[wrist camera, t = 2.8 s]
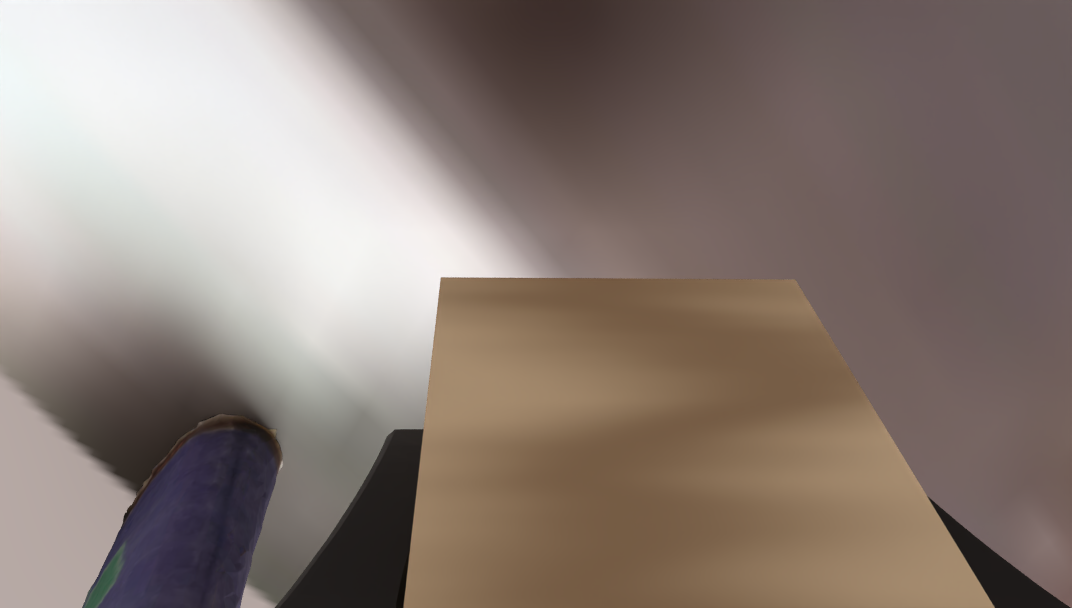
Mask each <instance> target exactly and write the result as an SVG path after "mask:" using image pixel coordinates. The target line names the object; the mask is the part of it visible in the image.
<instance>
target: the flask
mask: <svg viewBox="0 0 1072 608" xmlns="http://www.w3.org/2000/svg"><path fill="white" fill-rule="evenodd" d="M276 430H277V429H267V428H265V427H263V426H261V425H259V424H257V423H256V422H254V421H252V420H250V419H248V418H246V417H244V416H242V415H225V414H218V415H216V416H215V417H213V418H210V419H207V420H204V421H201V422H199V423H198V425H197V426H196V428H195V429H193V430H191V431H189V432H187V433H186V434H185V435H183V436H182V437H181V438H180V439H179V440H177V441H176V442H175V443H176V445H175V446H172V448H171V450H170V452H169V453H168V454H167V456H165V458H164V459H163V460H162V461H160V463H159V464H157V465H156V466H155V467H154V468H153V470H152V475H151V476H150V478H148V479H147V480H146V481H144V482H143V487H141V488H140V489H139V491H138V492H137V493H136V495H137V497H136V498H135V500H134V502H133V504H132V505H131V506H130V507H129V508H128V510H127V513H125V515H124V519H123V524H122V527H121V529H120V531H119V532H118V535H117V537H116V540H115V542H114V544H113V546H112V549H111V550H110V552H109V554H108V556H107V558H106V560H105V562H104V565H103V566H102V569H101V571H100V573H99V575H98V577H97V579H96V581H95V582H94V584H93V585H92V587H91V589H90V590H89V592H88V595H87V597H86V600H85V602H84V605H83V607H82V608H240V605H241V600H242V595H243V592H244V588H245V584H246V581H247V577H248V574H249V570H250V567H251V562H252V555H253V552H254V549H255V546H256V543H257V540H258V537H259V535H260V532H261V529H262V523H263V520H264V517H265V513H266V509H267V507H268V504H269V501H270V498H271V495H272V492H273V489H274V485H275V482H276V476H277V474H278V471H279V470H280V469H281V467H282V466H283V460H282V453H281V450H279V449H280V446H279V444H278V442H277V440H276V439H275V438H276Z"/></svg>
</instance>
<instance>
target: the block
mask: <svg viewBox="0 0 1072 608" xmlns="http://www.w3.org/2000/svg"><path fill="white" fill-rule="evenodd" d="M403 608H995V607H994V606H993V604H992V602H991V601H990V599H989V597H988V596H987V594H986V592H985V591H984V589H983V587H982V586H981V584H980V583H979V581H978V579H977V578H976V576H975V574H974V573H973V571H972V569H971V568H970V566H969V565H968V563H967V561H966V560H965V558H964V556H963V555H962V553H961V551H960V550H959V548H958V546H957V545H956V543H955V542H954V540H953V538H952V537H951V535H950V533H949V532H948V530H947V528H946V527H945V525H944V523H943V522H942V520H941V519H940V517H939V515H938V514H937V512H936V510H935V509H934V507H933V505H932V504H931V502H930V500H929V499H928V497H927V496H926V494H925V492H924V491H923V489H922V487H921V486H920V484H919V482H918V481H917V479H916V477H915V476H914V474H913V473H912V471H911V469H910V468H909V466H908V464H907V463H906V461H905V459H904V458H903V456H902V454H901V453H900V451H899V450H898V448H897V446H896V445H895V443H894V441H893V440H892V438H891V436H890V435H889V433H888V431H887V430H886V428H885V427H884V425H883V423H882V422H881V420H880V418H879V417H878V415H877V413H876V412H875V410H874V408H873V407H872V405H871V404H870V402H869V400H868V399H867V397H866V395H865V394H864V392H863V390H862V389H861V387H860V385H859V384H858V382H857V381H856V379H855V377H854V376H853V374H852V372H851V371H850V369H849V367H848V366H847V364H846V362H845V361H844V359H843V358H842V356H841V354H840V353H839V351H838V349H837V348H836V346H835V344H834V343H833V341H832V339H831V338H830V336H829V335H828V333H827V331H826V330H825V328H824V326H823V325H822V323H821V321H820V320H819V318H818V316H817V315H816V313H815V312H814V310H813V308H812V307H811V305H810V303H809V302H808V300H807V298H806V297H805V295H804V293H803V292H802V290H801V289H800V287H799V285H798V284H797V282H796V280H773V279H607V278H441V281H440V290H439V299H438V307H437V316H436V325H435V334H434V343H433V351H432V360H431V369H430V378H429V387H428V396H427V404H426V413H425V422H424V431H423V440H422V448H421V457H420V466H419V475H418V484H417V493H416V501H415V510H414V519H413V528H412V537H411V545H410V554H409V563H408V572H407V581H406V590H405V598H404V607H403Z"/></svg>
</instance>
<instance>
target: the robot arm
mask: <svg viewBox="0 0 1072 608" xmlns="http://www.w3.org/2000/svg"><path fill="white" fill-rule="evenodd" d="M423 431H424V429H400V430H394V431H393V432H392V433H390V434H389V435H388V436H387V438H386V440H385V442H384V445H383V447H382V449H381V451H380V453H379V455H378V457H377V459H376V461H375V463H374V465H373V467H372V469H371V470H370V472H369V474H368V476H367V477H366V479H365V481H364V483H363V484H362V486H361V488H360V489H359V491H358V493H357V495H356V496H355V498H354V499H353V501H352V502H351V504H350V506H349V507H348V509H347V510H346V512H345V513H344V515H343V516H342V518H341V519H340V521H339V523H338V524H337V526H336V527H335V529H334V530H333V532H332V533H331V535H330V536H329V538H328V539H327V541H326V542H325V543H324V545H323V546H322V547H321V549H320V550H319V551H318V553H317V554H316V555H315V557H314V558H313V560H312V561H311V562H310V564H309V565H308V566H307V568H306V569H305V570H304V572H303V573H302V574H301V576H300V577H299V578H298V580H297V581H296V582H295V584H294V585H293V586H292V587H291V589H290V590H289V591H288V592H287V594H286V595H285V596H284V597H283V599H282V600H281V601H280V602H279V603H278V605H277V606H276V607H275V608H403V607H404V598H405V590H406V581H407V572H408V563H409V554H410V545H411V537H412V528H413V519H414V510H415V501H416V493H417V484H418V475H419V466H420V457H421V448H422V440H423ZM927 497H928V496H927ZM928 499H929V500H930V502H931V504H932V505H933V507H934V509H935V510H936V512H937V514H938V515H939V517H940V519H941V520H942V522H943V523H944V525H945V527H946V528H947V530H948V532H949V533H950V535H951V537H952V538H953V540H954V542H955V543H956V545H957V546H958V548H959V550H960V551H961V553H962V555H963V556H964V558H965V560H966V561H967V563H968V565H969V566H970V568H971V569H972V571H973V573H974V574H975V576H976V578H977V579H978V581H979V583H980V584H981V586H982V587H983V589H984V591H985V592H986V594H987V596H988V597H989V599H990V601H991V602H992V604H993V606H994V607H995V608H1070V607H1069V606H1067V605H1066V604H1064V603H1063V602H1061V601H1060V600H1058V599H1057V598H1056V597H1054V596H1053V595H1051V594H1050V593H1049V592H1047V591H1046V590H1044V589H1043V588H1042V587H1040V586H1039V585H1037V584H1036V583H1035V582H1033V581H1032V580H1031V579H1029V578H1028V577H1027V576H1025V575H1024V574H1023V573H1021V572H1020V571H1019V570H1018V569H1016V568H1015V567H1014V566H1012V565H1011V564H1010V563H1008V562H1007V561H1006V560H1004V559H1003V558H1002V557H1000V556H999V555H998V554H997V553H995V552H994V551H993V550H991V549H990V548H989V547H988V546H986V545H985V544H984V543H983V542H981V541H980V540H979V539H978V538H976V537H975V536H974V535H973V534H971V533H970V532H969V531H968V530H967V529H965V528H964V527H963V526H962V525H961V524H959V523H958V522H957V521H956V520H955V519H953V518H952V517H951V516H950V515H949V514H947V513H946V512H945V511H944V510H943V509H942V508H940V507H939V506H938V505H937V504H936V503H935V502H933V501H932V500H931V499H930V498H929V497H928Z"/></svg>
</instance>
